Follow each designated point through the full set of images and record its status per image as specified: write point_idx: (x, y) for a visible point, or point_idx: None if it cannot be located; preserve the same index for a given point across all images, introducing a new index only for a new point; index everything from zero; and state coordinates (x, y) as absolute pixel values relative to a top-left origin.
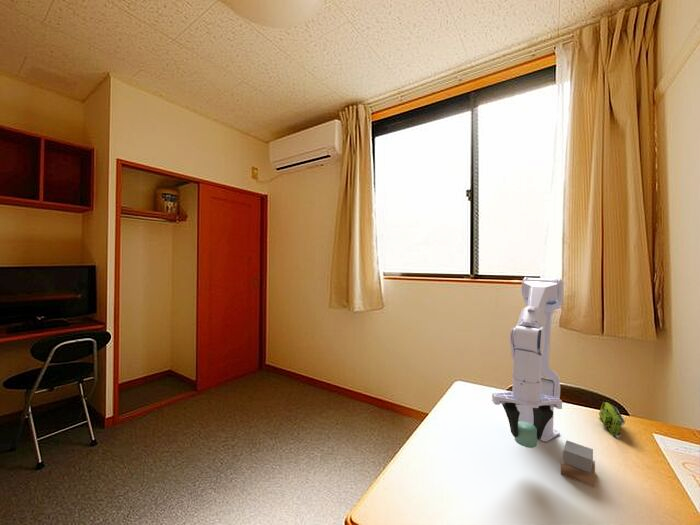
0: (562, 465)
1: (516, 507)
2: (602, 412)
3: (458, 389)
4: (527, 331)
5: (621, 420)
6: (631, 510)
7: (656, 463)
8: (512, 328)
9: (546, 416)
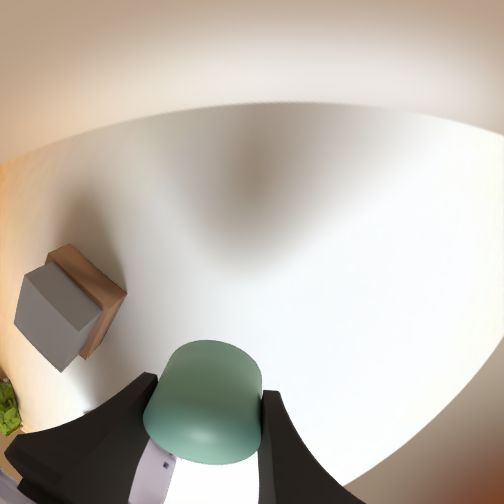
0: (109, 303)
1: (351, 146)
2: (10, 423)
3: None
4: None
5: None
6: (41, 171)
7: None
8: None
9: (52, 452)
